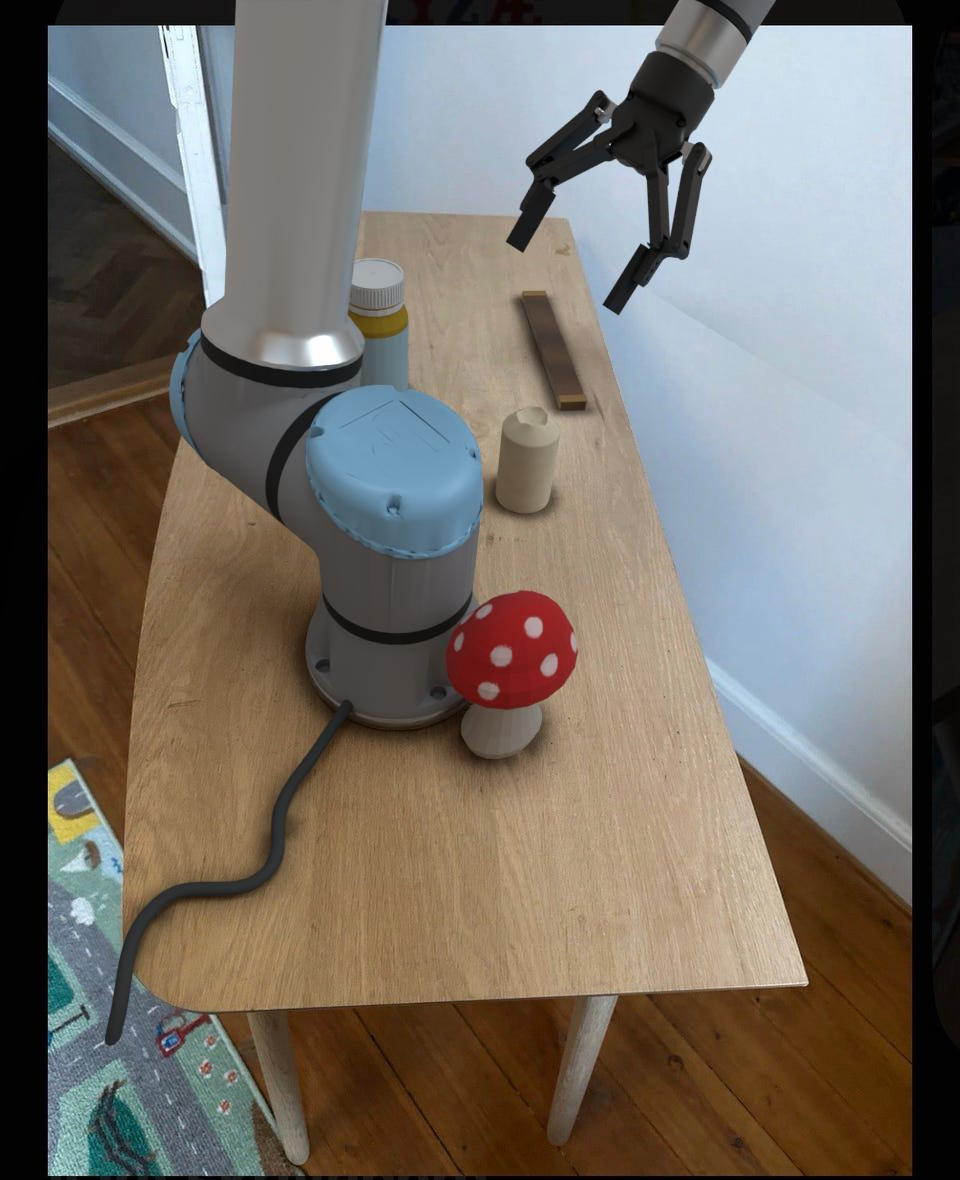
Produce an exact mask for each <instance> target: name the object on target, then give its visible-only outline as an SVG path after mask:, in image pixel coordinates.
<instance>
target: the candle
mask: <svg viewBox="0 0 960 1180" xmlns="http://www.w3.org/2000/svg"><path fill="white" fill-rule="evenodd" d="M500 435H501V436H500V444H499V455H498V463H497V473H496V484H495V497H496V499H497V501H498V503H499V504H500V505H501V506H502V507H504V508H505V509H506V510H508V511H511V512H513V513H517V514H533V513H537V512H539V511H542V510H543V509H544V508H546V506H547V505H548V503H549V501H550V498H551V493H552V487H553V480H554V476H555V475H554V474H555V469H556V468H555V467H556V463H557V456H558V451H559V444H560V439H561V426H560V424H559V422H558V421H557V420H556V418H554V417H553V416H552V415H550V414H549V412H547V411H546V410H545V409H544V408H543V407H541V406H534V405H533V406H532V405H529V406H525V407H523V408H521V409H518V410H516V411H514V412H512V413H510V414H509V415H508V416H506V417H505V419H504V420H503V422H502V425H501V434H500Z"/></svg>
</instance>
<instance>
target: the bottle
mask: <svg viewBox="0 0 960 1180" xmlns="http://www.w3.org/2000/svg"><path fill="white" fill-rule="evenodd" d="M348 316H349V317H350V319H351V320H352V321H353V322H354V324H355V325H356V326H357V327H358V328H359V330H360V331H361V332H362V334H363V337H364V340H365V346H364V353H363V360H362V368H361V375H360V387H363V386H370V385H391V386H394V389H395V390H396V391H397V392H400V393H401V392H405V391H406V390H407V389H408V388H409V313H408V310H407V307H406V305H405V272H404V270H403V268H402V267H401V266H400V265H399V264H397V263H396V262H393V261H391V260H389V259H385V258H379V257H378V258H377V257H365V258H359V259H355V262H354V269H353V277H352V285H351V293H350V300H349V308H348Z"/></svg>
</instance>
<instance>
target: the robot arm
mask: <svg viewBox="0 0 960 1180" xmlns="http://www.w3.org/2000/svg"><path fill="white" fill-rule="evenodd" d="M776 1H777V0H678V1H677V3H676V4H675V6H674V8H673V10H672V11H671V12H670V15H669V17H668V18H667V20H666V22H665V23H664V25H663V27H662V29H661V30H660V32H659V33H658V35H657V36H656V38H655V40H654V45H655V46H654V47H655V50H653V51H651V52H648V53H647V55H646V56H645V58H644V60H643V62H642V63H641V65H640V67H639V68H638V70H637V72H636V74H635V76H634V77H633V79H632V80H631V82H630V84H629V88H628V92H627V95H626V97H625V98H624V100H622V102H620V103H619V104H617V103H615V102H614V101H612V100H611V99H610V98H609V96H608V95H607V94H606V93H605V92H604V91H603V90H601V89H597V90H595V92H594V93H593V94H592V96H591V97H590V99H589V100H588V102H587V103H586V104H585V106H584V107H583V109H582V110H580V111H579V112H578V113H577V114H576V115H574V116H573V117H572V118H571V119H570V120H569V121H567V122H566V123H565V124H564V125H563V126H561V127H560V128H559V129H557V131H556V132H554V133H553V134H552V135H551V136H550V137H549V138H548V139H546V141H544V142H543V143H542V144H540V145H539V146H538V147H537V148H535V149H534V151H532V152H531V153H530V154H529V155H528V156H527V157H526V158H525V161H524V163H525V166H526V167H527V168H528V169H529V171H530V172H531V174H532V175H533V181H532V183H531V185H530V186H529V188H528V190H527V191H526V193H525V195H524V196H523V199H522V200H521V202H520V204H519V210H520V211H521V214H520V215H519V217H518V219H517V221H516V222H515V224H514V226H513V227H512V229H511V232H510V233H509V235H508V236H507V238H506V240H505V243H507V244H508V245H509V246H511V247H513V248H514V249H515V250H517V251H519V252H520V253H522V254H524V252H525V251H526V250H527V247H528V246H529V244H530V242H531V240H532V239H533V237H534V235H535V234H536V232H537V230H538V229H539V227H540V224H541V223H542V222H543V220H544V218H545V217H546V214H547V213H548V211H549V210H550V208H551V206H552V204H553V202H554V201H555V199H556V197H557V194H555V193H554V192H555V188H556V187H558V186H559V185H562V184H564V183H566V182H567V181H570V180H571V179H573V178H575V177H578V176H580V175H581V174H584V173H585V172H588V171H590V170H591V169H593V168H595V167H597V166H599V165H602V164H603V163H605V162H607V163H609V162H613V161H615V160H616V161H617V162H618V163H619V164H620V165H622V166H624V167H627V168H632V169H633V170H634V171H635V172H636V173H637V174H639V175H640V176H643V177H645V180H646V193H647V194H646V195H647V196H646V197H647V214H648V215H647V216H648V235H649V236H648V238H649V239H648V240H649V241H646V244H647V246H648V247H647V246H646V245H644V244H643V243H640V244H639V245H638V247H637V248H636V250H635V251H634V253H633V255H631V256H632V257H631V258H630V259H629V260H628V263H627V265H626V266H625V267H624V269H623V270H622V272H621V274H620V276H619V277H618V278H617V280H616V282H615V283H614V285H613V287H612V288H611V290H610V292H609V293H608V294H607V296H606V298H605V300H604V301H603V302H602V304H601V305H602V306H603V307H605V308H606V309H607V310H609V311H611V312H613V313H614V314H616V316H620V315H621V313H622V312H623V310H624V309H625V307H626V305H627V303H628V302H629V301H630V299H631V297H632V296H633V294H634V293H635V291H636V289H637V287H638V286H639V287H642V288H645V287H646V286H647V285H649V283H650V281H651V279H652V278H653V276H654V275H655V273H656V272H657V270H658V269H659V268H660V266H661V264H662V263H663V261H664V260H665V259H668V258H671V259H672V258H673V259H678V260H680V261H685V260H686V259H688V257H689V255H690V252H691V251H690V250H691V245H692V240H693V234H694V229H695V223H696V219H697V212H698V207H699V201H700V196H701V190H702V185H703V179H704V177H705V175H706V173H707V171H708V170H709V167H710V165H711V163H712V162H713V158H714V157H713V154H712V153H711V151H710V150H709V148H707V146H706V145H705V143H704V142H702V141H697V142H695V143H692V142H691V141H690V142H689V140H690V138H691V135H692V134H693V132H695V131H696V130H697V129H698V127H699V126H700V124H701V123H702V121H703V119H704V118H705V117H706V114H707V113H708V111H709V109H710V108H711V107H712V106H713V103H714V102H715V99H716V96H715V94H716V93H715V90H720V89H722V88H723V86H724V84H725V83H726V82H727V80H728V78H729V77H730V75H731V73H732V72H733V70H734V68H735V67H736V65H737V64H738V62H739V60H740V59H741V57H742V55H743V54H744V52H745V51H746V50H747V48H748V46H749V44H750V42H751V41H752V40H753V39H752V38H753V37H754V35H755V33H756V32H757V30H758V29H759V27H760V26H761V24H762V23H763V21H764V20H765V18H766V16H767V15H768V14H769V12H770V10H771V9H772V7H773V6H774V4H775V2H776ZM388 6H389V0H235V17H234V18H235V19H234V20H235V21H234V43H233V44H234V45H233V66H232V67H233V68H232V69H233V70H232V94H231V117H230V119H231V120H230V142H229V143H230V144H229V148H230V149H229V168H228V170H229V172H228V191H227V220H226V241H225V242H226V243H225V268H224V269H225V270H224V294H223V296H222V297H220V298H219V299H217V300H216V301H215V302H213V303H212V304H211V305H210V306H208V307H207V308H206V309H205V310H204V311H203V313H202V315H201V322H200V327H199V328H197V329H196V330H195V331H194V332H193V333H192V334H190V335H191V336H190V337H189V338H188V339H187V343H188V345H189V346H188V348H187V349H185V351H184V352H181V351H180V352H179V353H178V354H177V356H176V359H175V361H174V363H173V366H172V370H171V373H170V378H169V389H168V390H169V394H168V395H169V397H168V398H169V404H170V405H169V406H170V410H171V411H170V412H171V415H172V419H173V422H174V424H175V425H176V428H177V430H178V432H179V434H180V435H181V436H182V438H183V439H184V441H185V442H186V443H187V444H188V445H189V446H190V448H192V449H193V450H194V451H195V452H194V453H196V454H197V456H198V457H199V458H200V459H201V461H202V462H204V464H205V465H206V466H207V467H208V468H210V469H211V470H213V471H214V472H215V473H218V474H219V476H220V477H222V478H224V479H225V480H227V481H228V482H229V483H230V484H232V485H233V486H234V487H235V488H236V489H238V490H239V491H241V493H243V494H244V495H245V496H246V497H248V498H249V499H250V500H251V501H253V502H254V503H255V504H257V506H259V507H260V508H262V509H263V510H264V511H265V512H266V513H268V514H269V515H270V516H271V517H273V519H275V520H276V521H277V522H279V523H280V524H282V526H284V527H285V528H287V529H288V530H289V531H290V532H291V533H292V534H293V535H295V536H296V537H297V538H298V539H299V540H300V541H302V542H303V543H304V544H305V545H307V546H308V547H309V548H310V549H311V550H312V551H313V552H314V555H315V556H316V557H317V560H318V569H319V576H320V585H321V586H320V587H321V593H320V596H319V599H318V601H317V604H316V606H315V610H314V612H313V614H312V617H311V619H310V622H309V625H308V628H307V633H306V638H305V650H304V651H305V660H306V669H307V674H308V677H309V679H310V682H311V684H312V686H313V688H314V690H315V692H316V693H317V695H318V696H319V697H320V699H322V701H323V702H324V703H325V704H326V705H327V706H328V707H329V708H331V710H333V711H334V713H333V715H332V716H331V718H330V720H329V721H328V722H327V724H326V725H325V727H324V728H323V729H322V732H321V733H320V735H319V736H318V737H317V739H316V740H315V741H314V743H313V745H312V746H311V747H310V748H309V751H308V752H307V753H306V754H305V756H304V757H303V758H302V760H301V761H300V763H299V764H298V765H297V766H296V767H295V769H294V770H293V772H292V773H291V775H290V776H289V777H288V779H287V780H286V781H285V783H284V785H283V786H282V788H281V790H280V792H279V794H278V796H277V798H276V800H275V803H274V806H273V809H272V814H271V820H270V821H271V822H270V824H271V825H270V850H269V853H268V857H267V859H266V861H265V863H263V865H262V867H260V868H259V870H258V871H256V872H254V873H253V874H252V875H249V876H248V877H245V878H241V879H239V880H238V879H237V880H231V881H191V882H183V883H180V884H175V885H173V886H171V887H169V888H166V889H165V890H163V891H161V892H160V893H159V894H157V895H156V896H155V897H153V898H152V899H151V900H150V901H149V902H148V903H147V904H146V905H145V906H144V907H143V908H142V909H141V910H140V912H139V913H138V914H137V915H136V917H135V918H134V920H133V921H132V924H131V925H130V927H129V929H128V931H127V933H126V935H125V938H124V941H123V943H122V947H121V950H120V954H119V958H118V964H117V969H116V974H115V975H116V976H115V983H114V988H113V995H112V1001H111V1007H110V1011H109V1016H108V1020H107V1025H106V1029H105V1035H104V1043H105V1045H107V1046H108V1047H111V1046H114V1045H116V1044H117V1043H118V1042H119V1041H120V1039H121V1037H122V1034H123V1032H124V1026H125V1021H126V1018H127V1014H128V1013H127V1012H128V1007H129V1002H130V996H131V988H132V981H133V975H134V969H135V968H134V967H135V962H136V958H137V954H138V949H139V946H140V943H141V941H142V938H143V936H144V934H145V932H146V931H147V929H148V927H149V925H150V924H151V922H152V921H153V920H154V918H155V917H157V915H158V914H159V913H160V912H161V911H162V910H163V909H164V908H165V907H167V906H168V905H170V904H171V903H173V902H175V901H178V900H181V899H184V898H191V897H232V896H239V895H243V894H246V893H250V892H252V891H254V890H256V889H258V888H260V887H262V886H263V885H264V884H266V883H267V882H268V881H269V880H271V878H272V877H273V876H274V875H275V873H276V872H277V870H278V869H279V867H280V865H281V863H282V861H283V858H284V853H285V843H286V842H285V841H286V840H285V833H286V832H285V823H286V815H287V810H288V809H289V806H290V803H291V801H292V798H293V797H294V795H295V794H296V792H297V790H298V789H299V787H300V785H301V784H302V782H303V781H304V780H305V778H306V777H307V776H308V775H309V773H310V772H311V770H312V769H313V768H314V767H315V765H316V763H317V762H318V761H319V760H320V758H321V757H322V755H323V754H324V753H325V751H326V749H327V748H328V746H329V745H330V743H331V742H332V741H333V739H334V738H335V736H336V734H337V733H338V731H339V730H340V729H341V727H342V726H343V724H344V722H345V721H346V719H347V720H349V721H351V722H354V723H356V724H359V725H361V726H365V727H369V728H372V729H377V730H385V731H408V730H409V731H410V730H415V729H416V730H417V729H421V728H424V727H428V726H431V725H432V726H433V725H435V724H437V723H440V722H442V721H444V720H447V719H448V718H451V717H452V716H454V715H455V714H456V713H458V712H459V711H461V710H463V708H465V707H466V706H467V705H469V703H471V702H470V701H468V700H467V699H465V698H464V697H463V696H462V695H460V694H459V693H458V692H457V691H456V690H455V689H454V687H453V685H452V684H451V682H450V680H449V678H448V676H447V669H446V658H445V653H446V650H447V647H448V644H449V641H450V638H451V636H452V634H453V632H454V630H455V629H456V627H457V626H458V625H459V624H460V622H461V621H462V620H463V619H464V617H466V616H467V615H468V614H470V613H471V612H473V611H474V610H476V609H477V608H479V607H480V605H479V602H478V600H477V598H476V596H475V593H474V582H475V573H476V563H477V555H478V546H479V538H480V537H479V535H480V527H481V518H482V514H483V508H484V493H485V489H484V488H485V487H484V481H483V475H482V471H483V463H482V456H481V450H480V447H479V444H478V442H477V439H476V437H475V434H474V433H473V431H472V430H471V429H470V427H469V426H468V424H467V423H466V421H465V420H464V419H463V418H462V417H461V416H460V415H459V414H458V413H457V412H456V411H455V410H454V409H452V408H451V407H450V406H449V405H448V404H446V403H444V402H443V401H441V400H440V399H438V398H436V397H434V396H432V395H430V394H428V393H426V392H423V391H421V390H418V389H417V390H416V389H414V388H409V387H408V389H407V390H406V391H405V392H401V393H400V392H397V391H396V390H395V389H394V386H391V385H370V386H363V387H360V375H361V368H362V360H363V353H364V346H365V340H364V337H363V334H362V332H361V331H360V330H359V328H358V327H357V326H356V325H355V324H354V322H353V321H352V320H351V319H350V317H349V316H348V308H349V300H350V293H351V285H352V277H353V269H354V262H355V260H356V253H357V245H358V237H359V228H360V222H361V213H362V207H363V200H364V199H363V198H364V191H365V183H366V176H367V168H368V160H369V152H370V144H371V139H372V138H371V136H372V129H373V122H374V114H375V113H374V112H375V107H376V100H377V99H376V98H377V91H378V83H379V75H380V68H381V61H382V60H381V59H382V53H383V45H384V37H385V36H384V35H385V29H386V22H387V14H388ZM609 123H610V127H608V128H607V129H604V130H603V131H601V132H599V133H597V134H596V135H594V136H593V134H594V133H596V132H597V131H598V130H600V128H601V127H602V126H603V125H604V124H607V125H608V124H609ZM591 136H593V138H592V140H590V141H588V142H586V143H585V144H583V143H584V142H585V141H586V140H587V139H589V138H590V137H591ZM581 144H582V145H581ZM580 145H581V146H580ZM681 158H682V159H681ZM679 159H681V165H682V169H681V173H680V179H679V184H678V189H677V194H676V195H677V196H676V201H675V207H674V211H673V212H674V213H673V219H672V223H671V225H670V207H669V188H668V187H669V185H670V174H669V172H670V171H669V165H670V164H672V163H674V162H675V161H677V160H679ZM670 226H671V227H670ZM670 228H671V229H670Z"/></svg>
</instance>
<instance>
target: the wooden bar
mask: <svg viewBox="0 0 960 1180" xmlns="http://www.w3.org/2000/svg"><path fill="white" fill-rule="evenodd" d="M521 302H522V305H523V308H524V311H525V314H526V317H527V319H528V321H529V322H528V323H529V325H530V328H531V332H532V335H533V337H534V340H535V344H536V347H537V349H538V353H539V355H540V357H541V360H542V363H543V367H544V369H545V372H546V374H547V375H546V376H547V378H548V381H549V385H550V387H551V390H552V393H553V396H554V398H555V401H556V405H557V409H558V411H559V412H562V411H586V409H587V404H588V399H587V396H586V395H585V393H584V391H583V387H582V385H581V382H580V380H579V377H578V375H577V372H576V369H575V366H574V365H573V361H572V358H571V355H570V354H569V351H568V348H567V345H566V343H565V340H564V338H563V335H562V332H561V330H560V327H559V324H558V322H557V319H556V317H555V314H554V311H553V308H552V306H551V303H550V301H549V298H548V293H547V291H546V290H522V291H521Z"/></svg>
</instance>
